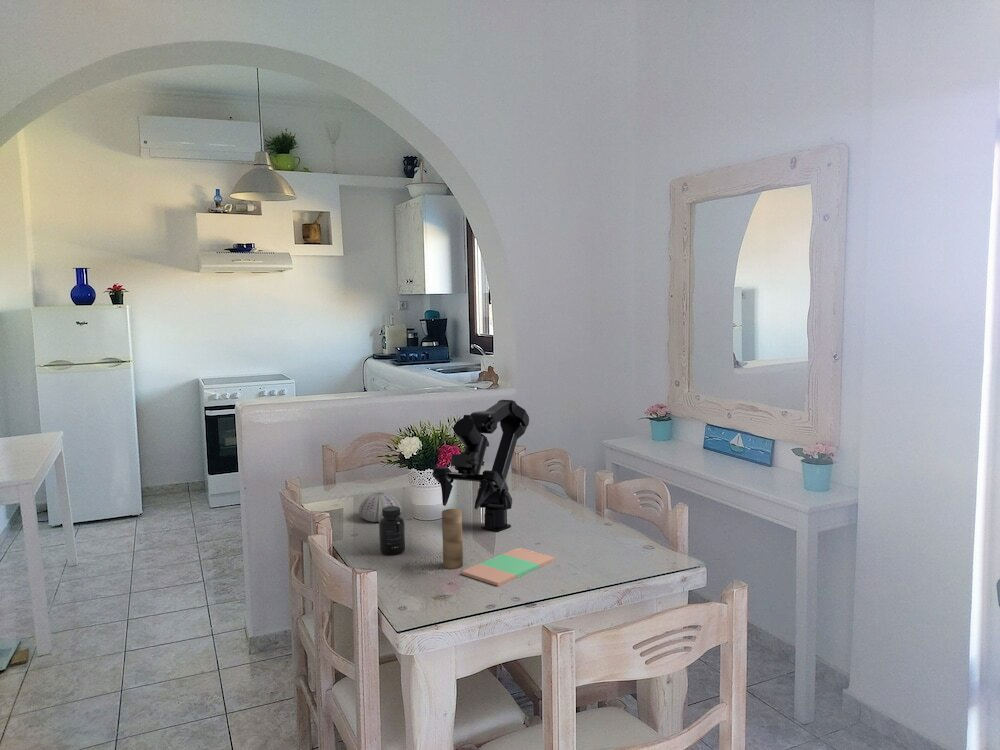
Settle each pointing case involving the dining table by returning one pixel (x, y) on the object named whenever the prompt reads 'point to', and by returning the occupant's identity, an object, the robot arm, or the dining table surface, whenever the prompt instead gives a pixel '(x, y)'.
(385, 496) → the sea urchin shell
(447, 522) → the walnut peg
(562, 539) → the dining table surface
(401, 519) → the supplement bottle
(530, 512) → the dining table surface
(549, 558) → the board
